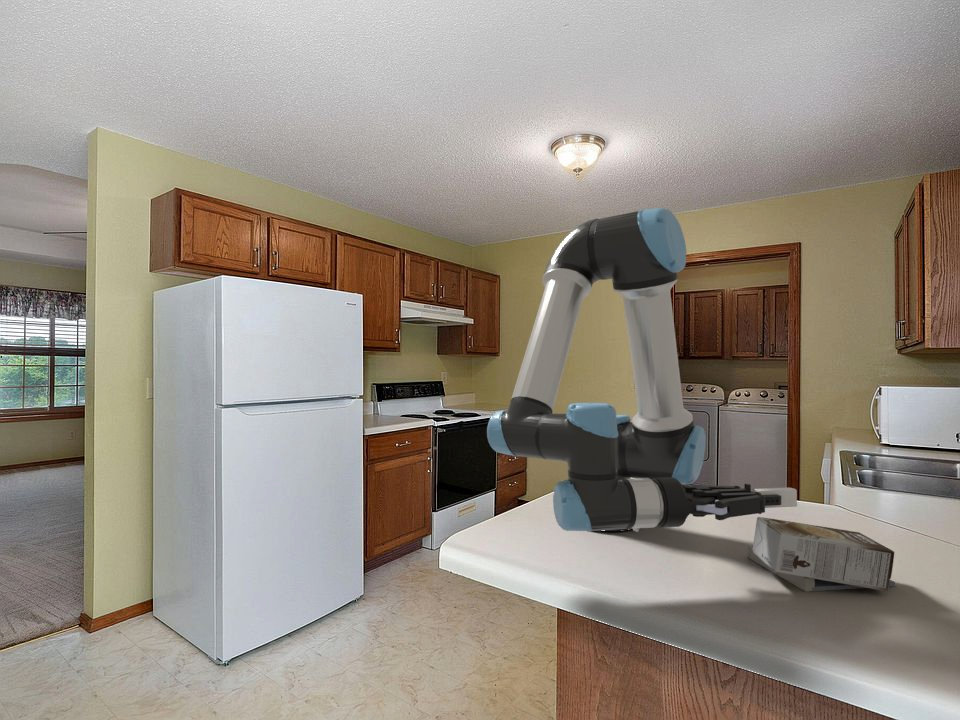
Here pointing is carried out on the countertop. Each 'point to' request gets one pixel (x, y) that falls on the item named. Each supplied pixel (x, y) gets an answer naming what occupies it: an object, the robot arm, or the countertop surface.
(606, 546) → the countertop surface
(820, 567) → the coffee box
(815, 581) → the mat
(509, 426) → the robot arm
